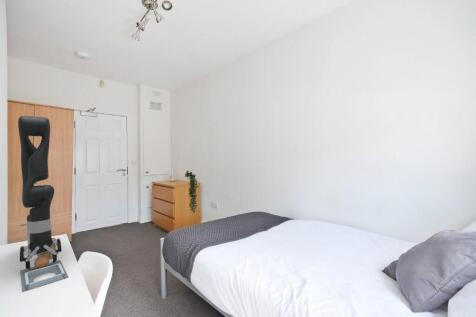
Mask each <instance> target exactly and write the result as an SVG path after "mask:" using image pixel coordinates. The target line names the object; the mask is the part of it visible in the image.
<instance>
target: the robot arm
mask: <svg viewBox="0 0 476 317" xmlns="http://www.w3.org/2000/svg"><path fill="white" fill-rule="evenodd" d="M50 123H51V122H50V119H49V118H48V117H44V116H35V115H32V116H31V115H30V116H29V115H20V116H19V117H18V121H17V128H18V134H19V141H20V164H21V165H20V168H21V170H20V171H21V176H22V177H21V178H22V190H21V191H22V194H21V202H22V205H23V207H24V208H27V209H29V208H30V209H29V214H28V215H26V229H27V230H26V233H27V234H26V235H27V238H26V239H27V245H25V246H22V245H21V246H20V247H19V262H21V263H22V262H24V263H25V269H28V270H30V268H31V259H32V258H33V256H34V255H37V254H39V253H41V252H46V251H50V252H51V253H53V254H52V256H53V258H52V262H53V263H55V261H57V260H58V253H61V252H62V251H63V250H62V242H61V239H60V238H56V240H52V238H53V237H52V222H51V204H52V201H53V200H54V198H53V197H54V195H55V188H54V186H52V185H51V184H44V185H42V184H41V185H35V184H36V183H37V182H38V183H39V182H42V181H46V180H48V178H49V151H50V143H51V142H50V139H51V124H50ZM30 137H41V140H40V142H39V145H38V146H35V145H34V144H33V142H32V141H31V138H30ZM53 243H55V244H57V246H56V249H57V250H54V249H53V248H52V247H51V245H52V244H53ZM26 251H27V256H26V257H25V252H26Z"/></svg>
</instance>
